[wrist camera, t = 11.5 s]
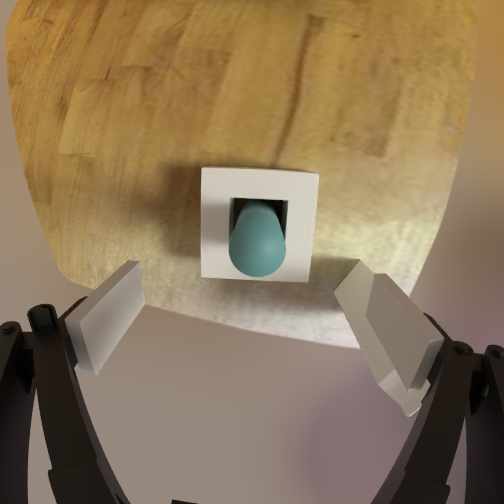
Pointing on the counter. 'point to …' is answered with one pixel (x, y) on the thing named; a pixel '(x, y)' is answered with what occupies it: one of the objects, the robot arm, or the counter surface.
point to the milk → (373, 337)
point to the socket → (260, 187)
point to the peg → (257, 240)
